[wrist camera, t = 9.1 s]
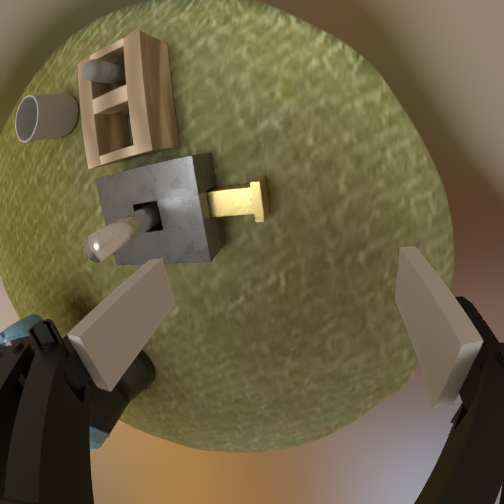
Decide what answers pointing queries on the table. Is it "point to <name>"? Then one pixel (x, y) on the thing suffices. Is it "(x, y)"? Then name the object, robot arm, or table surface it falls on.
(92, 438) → the robot arm
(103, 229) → the round-ended peg
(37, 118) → the cup
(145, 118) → the rack
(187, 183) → the socket block
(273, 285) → the table surface
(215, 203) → the brass square peg
